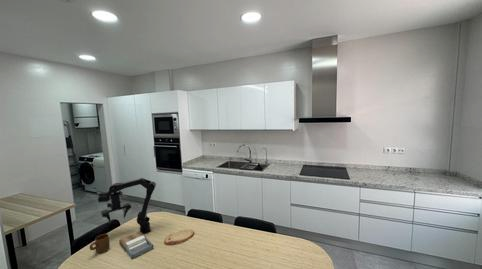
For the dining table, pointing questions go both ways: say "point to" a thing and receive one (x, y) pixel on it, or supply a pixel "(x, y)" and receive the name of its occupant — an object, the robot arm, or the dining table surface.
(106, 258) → the dining table surface
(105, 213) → the robot arm
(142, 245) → the tile
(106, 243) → the mug
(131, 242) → the tile
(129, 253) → the tray
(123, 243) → the board
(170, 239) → the slice of bread
